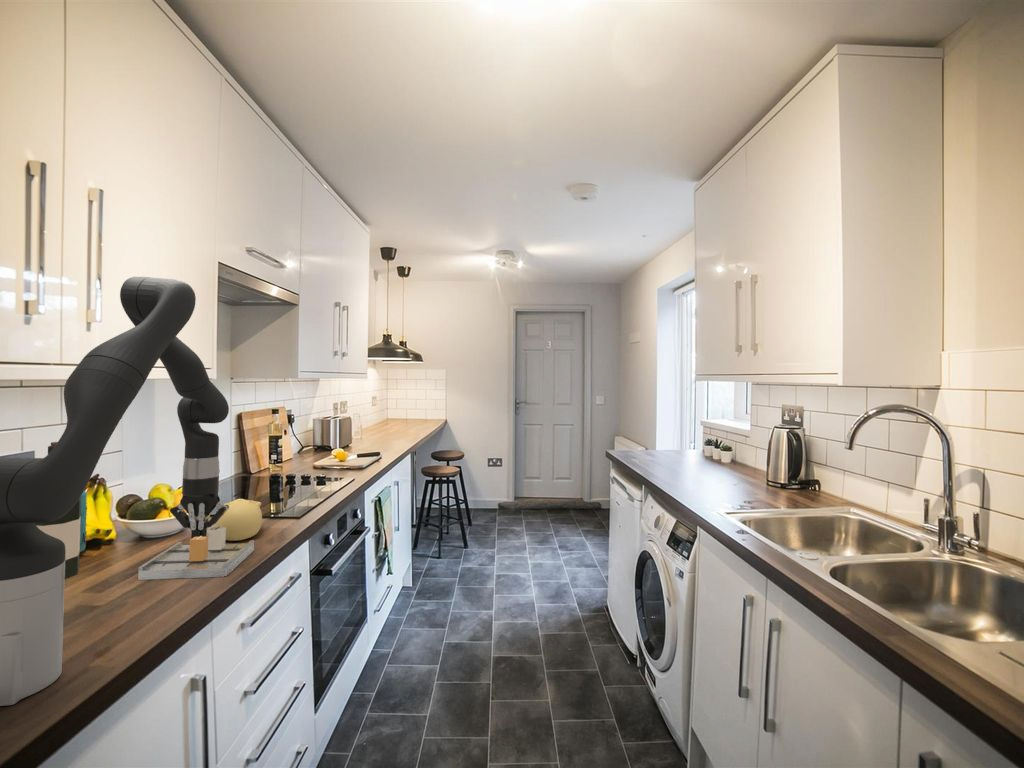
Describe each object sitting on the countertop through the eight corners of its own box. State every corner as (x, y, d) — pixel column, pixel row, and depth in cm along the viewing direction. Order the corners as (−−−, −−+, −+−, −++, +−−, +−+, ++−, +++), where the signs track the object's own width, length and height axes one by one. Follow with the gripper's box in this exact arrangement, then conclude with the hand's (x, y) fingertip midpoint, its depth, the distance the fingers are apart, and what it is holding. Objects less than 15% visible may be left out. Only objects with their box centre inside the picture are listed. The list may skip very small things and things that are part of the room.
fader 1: (203, 560, 106) (203, 538, 106) (189, 561, 105) (189, 539, 105) (207, 557, 108) (208, 535, 108) (194, 557, 108) (194, 535, 107)
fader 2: (221, 549, 113) (221, 529, 113) (208, 550, 112) (208, 529, 112) (225, 546, 115) (225, 526, 115) (212, 546, 115) (213, 526, 115)
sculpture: (260, 528, 137) (261, 493, 137) (263, 540, 127) (264, 502, 127) (215, 534, 131) (216, 497, 131) (214, 547, 121) (215, 507, 121)
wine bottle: (16, 585, 96) (20, 445, 96) (44, 569, 104) (48, 439, 104) (64, 582, 98) (69, 444, 98) (88, 566, 106) (92, 439, 106)
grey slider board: (226, 576, 104) (226, 564, 104) (138, 579, 101) (138, 567, 101) (253, 550, 119) (254, 540, 119) (178, 552, 116) (178, 542, 116)
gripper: (162, 477, 108) (160, 550, 108) (223, 477, 110) (220, 548, 110) (179, 471, 115) (177, 539, 116) (236, 471, 118) (234, 537, 118)
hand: (198, 543), depth 113 cm, fingers closed
